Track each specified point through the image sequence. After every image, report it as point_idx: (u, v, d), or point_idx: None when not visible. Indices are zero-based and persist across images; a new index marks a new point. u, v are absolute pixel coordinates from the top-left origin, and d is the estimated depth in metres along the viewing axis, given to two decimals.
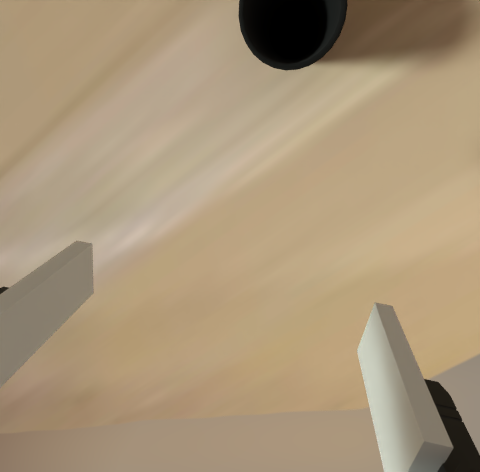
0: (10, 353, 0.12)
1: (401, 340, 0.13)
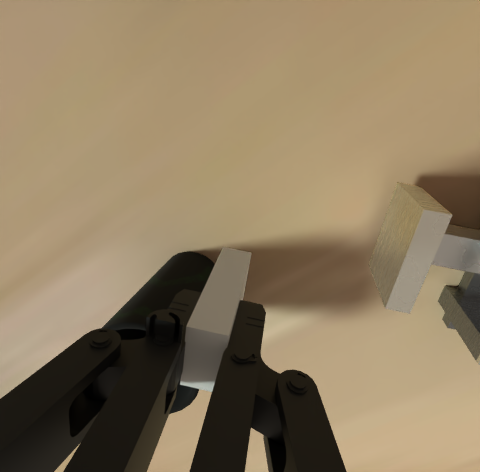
0: None
1: (240, 273, 0.16)
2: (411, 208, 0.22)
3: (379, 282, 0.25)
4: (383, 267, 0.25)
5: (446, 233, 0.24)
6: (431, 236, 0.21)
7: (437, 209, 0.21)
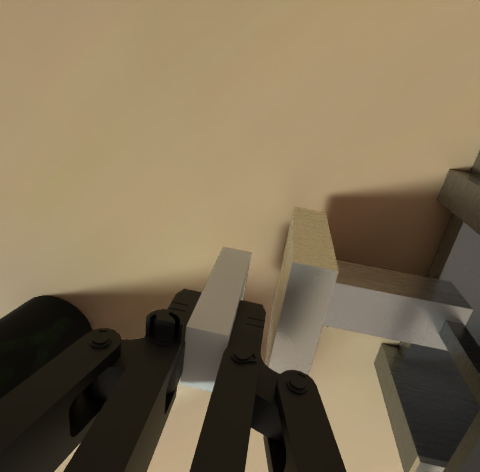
0: None
1: (240, 273, 0.16)
2: (290, 253, 0.14)
3: (266, 355, 0.17)
4: (270, 333, 0.17)
5: (358, 285, 0.16)
6: (310, 303, 0.13)
7: (319, 259, 0.13)
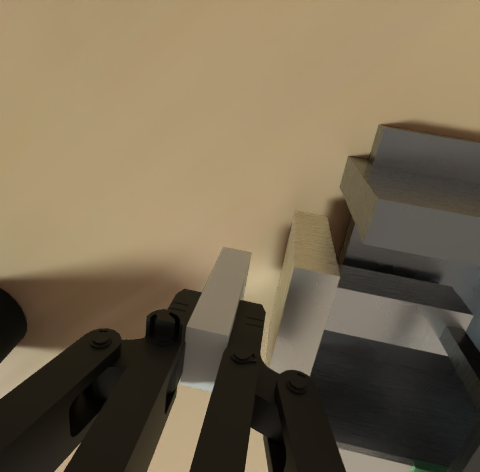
0: None
1: (240, 273, 0.16)
2: (291, 257, 0.14)
3: (266, 358, 0.17)
4: (271, 337, 0.17)
5: (359, 290, 0.16)
6: (312, 308, 0.13)
7: (320, 264, 0.13)
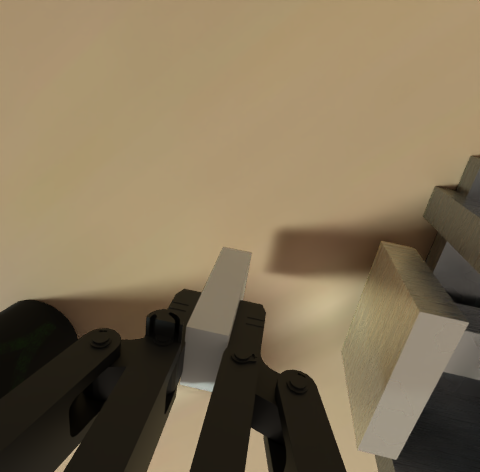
0: None
1: (240, 273, 0.16)
2: (399, 296, 0.14)
3: (352, 393, 0.17)
4: (358, 371, 0.16)
5: None
6: (432, 353, 0.12)
7: (442, 308, 0.12)
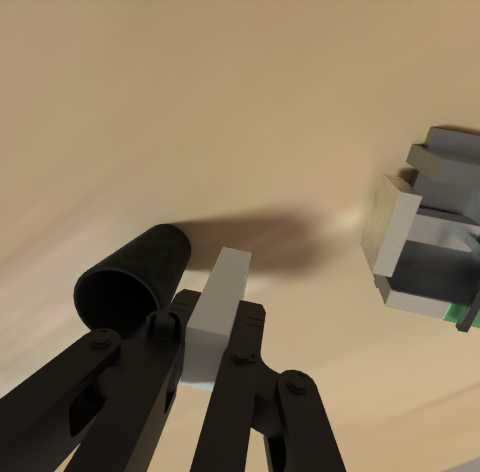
0: None
1: (240, 274, 0.16)
2: (392, 192, 0.28)
3: (367, 254, 0.31)
4: (371, 241, 0.31)
5: (421, 214, 0.30)
6: (406, 213, 0.27)
7: (411, 192, 0.27)
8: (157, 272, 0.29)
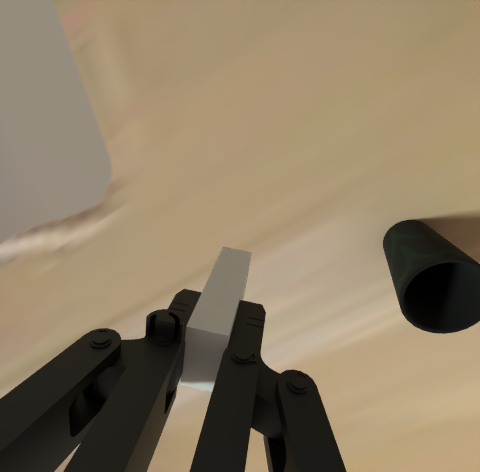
0: None
1: (240, 273, 0.16)
2: None
3: None
4: None
5: None
6: None
7: None
8: None
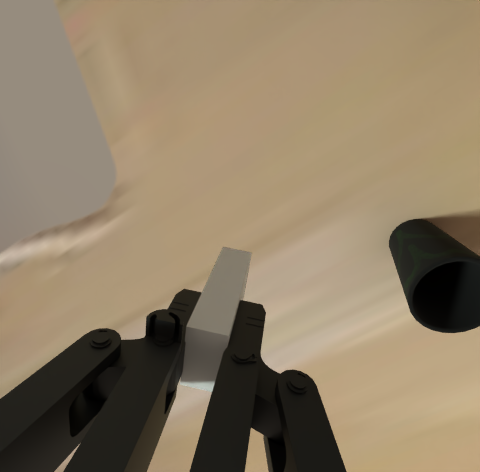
0: None
1: (240, 273, 0.16)
2: None
3: None
4: None
5: None
6: None
7: None
8: None
